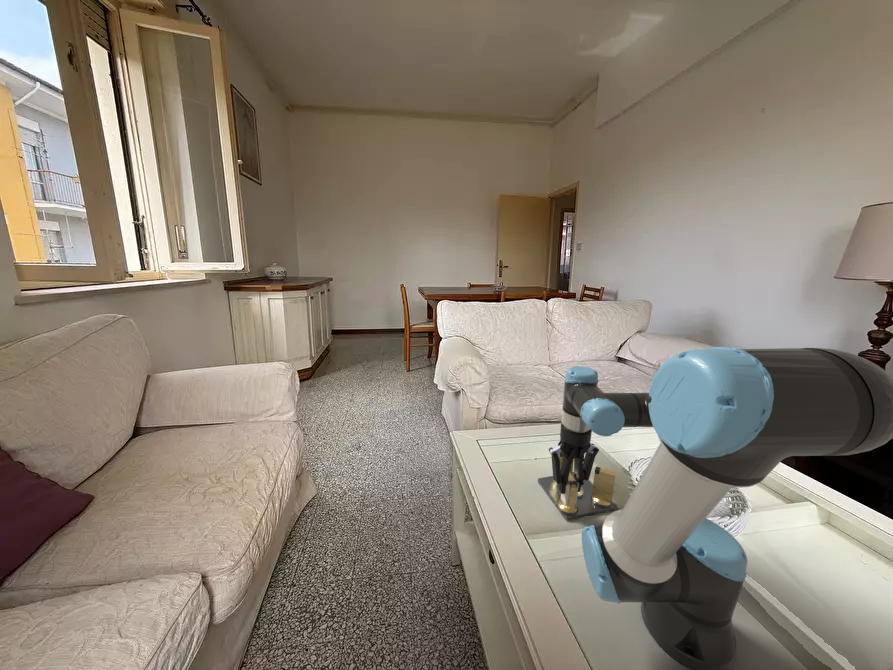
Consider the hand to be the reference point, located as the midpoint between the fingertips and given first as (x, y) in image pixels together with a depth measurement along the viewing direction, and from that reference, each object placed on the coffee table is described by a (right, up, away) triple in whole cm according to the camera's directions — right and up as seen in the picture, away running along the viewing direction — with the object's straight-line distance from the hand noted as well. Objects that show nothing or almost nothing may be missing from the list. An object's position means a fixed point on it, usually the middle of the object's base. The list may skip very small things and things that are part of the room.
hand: (568, 501), depth 94 cm
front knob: (0, -2, +1) cm, 2 cm away
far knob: (+3, +1, +12) cm, 13 cm away
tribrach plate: (+4, -2, +7) cm, 9 cm away
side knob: (+11, -1, +3) cm, 11 cm away
